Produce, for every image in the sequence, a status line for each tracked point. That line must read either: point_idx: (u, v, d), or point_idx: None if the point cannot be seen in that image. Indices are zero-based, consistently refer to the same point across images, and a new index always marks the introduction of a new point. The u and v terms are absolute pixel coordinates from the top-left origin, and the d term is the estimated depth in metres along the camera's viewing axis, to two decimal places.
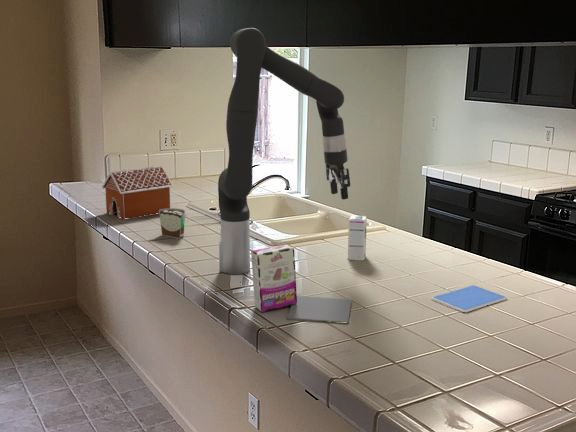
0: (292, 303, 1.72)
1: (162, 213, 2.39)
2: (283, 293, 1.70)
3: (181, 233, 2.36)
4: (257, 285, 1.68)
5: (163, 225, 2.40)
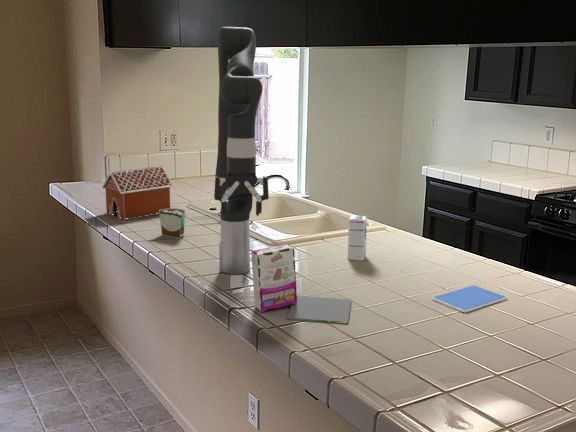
0: (292, 303, 1.72)
1: (162, 213, 2.39)
2: (283, 293, 1.70)
3: (181, 233, 2.36)
4: (257, 286, 1.68)
5: (163, 225, 2.40)
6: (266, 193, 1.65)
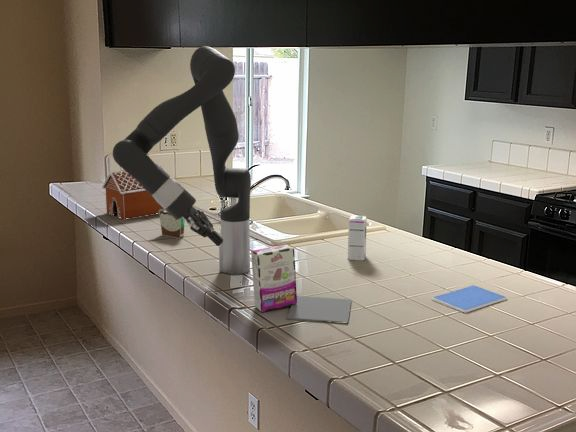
0: (292, 303, 1.72)
1: (162, 213, 2.39)
2: (283, 293, 1.70)
3: (181, 233, 2.36)
4: (257, 286, 1.68)
5: (163, 225, 2.40)
6: None
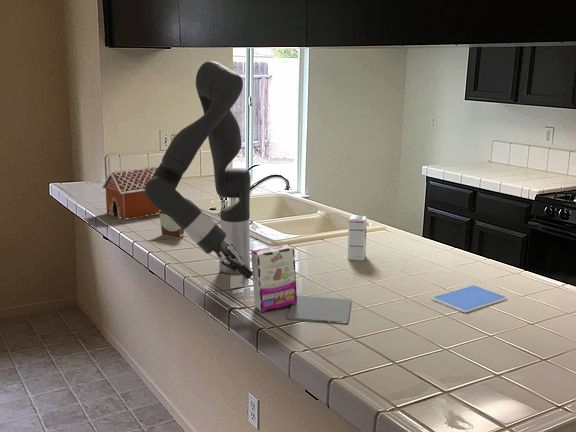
0: (292, 303, 1.72)
1: (162, 213, 2.39)
2: (283, 293, 1.70)
3: (181, 233, 2.36)
4: (257, 286, 1.68)
5: (163, 225, 2.40)
6: None
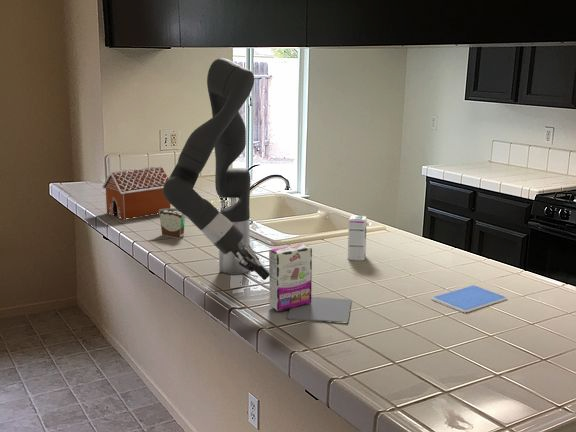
0: (307, 303, 1.73)
1: (162, 213, 2.39)
2: (299, 293, 1.71)
3: (181, 233, 2.36)
4: (275, 285, 1.67)
5: (163, 225, 2.40)
6: None
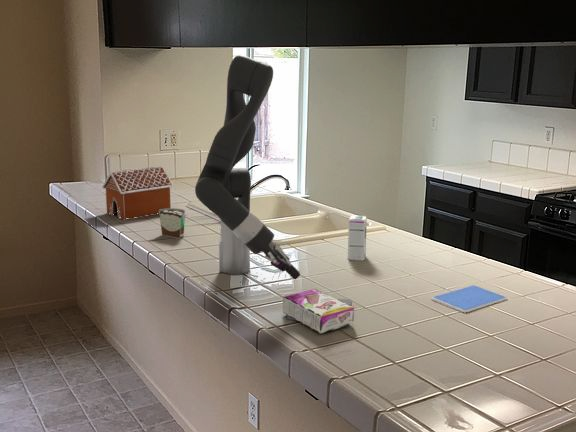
0: None
1: (162, 213, 2.39)
2: None
3: (181, 233, 2.36)
4: (298, 316, 1.61)
5: (163, 225, 2.40)
6: None
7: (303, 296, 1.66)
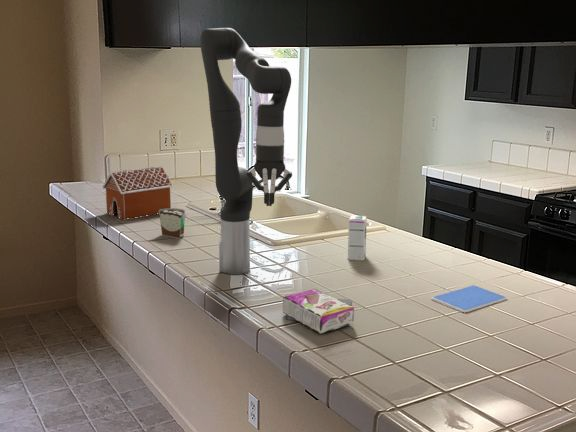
0: None
1: (162, 213, 2.39)
2: None
3: (181, 233, 2.36)
4: (298, 317, 1.61)
5: (163, 225, 2.40)
6: (281, 185, 1.70)
7: (303, 296, 1.66)
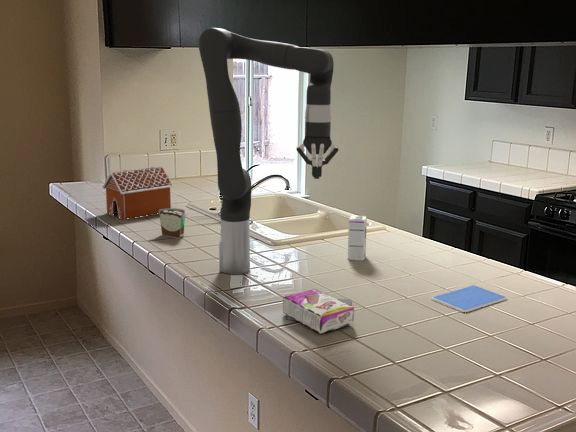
0: None
1: (162, 213, 2.39)
2: None
3: (181, 233, 2.36)
4: (298, 317, 1.61)
5: (163, 225, 2.40)
6: (328, 159, 1.84)
7: (303, 296, 1.66)
